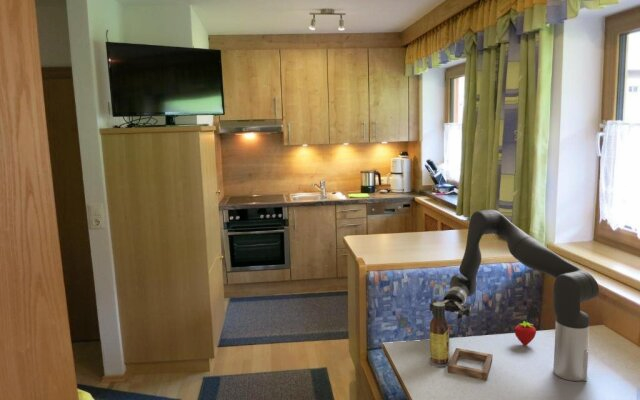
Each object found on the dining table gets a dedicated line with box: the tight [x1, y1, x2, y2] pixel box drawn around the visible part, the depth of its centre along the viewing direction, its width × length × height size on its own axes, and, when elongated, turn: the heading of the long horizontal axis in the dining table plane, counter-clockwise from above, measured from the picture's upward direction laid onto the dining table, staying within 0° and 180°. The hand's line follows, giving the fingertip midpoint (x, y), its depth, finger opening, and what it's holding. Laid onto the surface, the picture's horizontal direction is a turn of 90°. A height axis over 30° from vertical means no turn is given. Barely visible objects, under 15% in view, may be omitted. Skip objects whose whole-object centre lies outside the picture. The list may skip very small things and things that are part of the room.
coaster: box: [428, 356, 451, 369], centre depth 158 cm, size 7×7×1 cm
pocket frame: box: [447, 347, 493, 381], centre depth 154 cm, size 12×13×2 cm
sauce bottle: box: [429, 301, 450, 364], centre depth 157 cm, size 6×6×20 cm
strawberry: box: [514, 318, 537, 346], centre depth 167 cm, size 6×8×10 cm
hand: (446, 315), depth 165 cm, fingers open, 8 cm apart
